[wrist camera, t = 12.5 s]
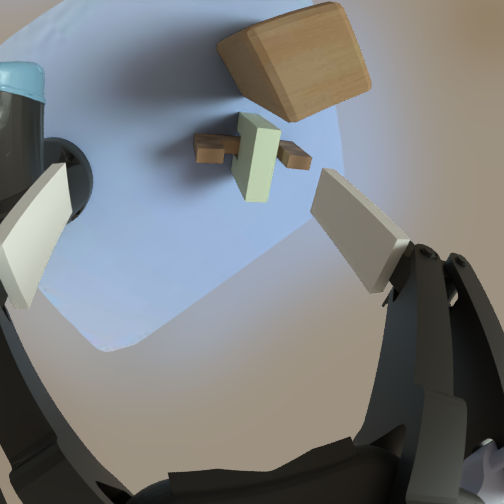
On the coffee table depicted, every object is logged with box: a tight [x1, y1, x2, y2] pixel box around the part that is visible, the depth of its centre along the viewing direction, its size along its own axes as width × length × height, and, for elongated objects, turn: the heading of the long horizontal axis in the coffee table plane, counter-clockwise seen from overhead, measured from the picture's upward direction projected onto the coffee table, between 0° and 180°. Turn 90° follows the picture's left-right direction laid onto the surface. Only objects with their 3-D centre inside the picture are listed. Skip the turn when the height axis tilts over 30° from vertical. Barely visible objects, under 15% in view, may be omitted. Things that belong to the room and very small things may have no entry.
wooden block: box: [217, 2, 371, 123], centre depth 27 cm, size 10×10×20 cm
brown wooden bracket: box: [193, 134, 312, 170], centre depth 40 cm, size 16×2×8 cm, turn 81°
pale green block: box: [231, 112, 281, 202], centre depth 39 cm, size 10×3×11 cm, turn 171°
